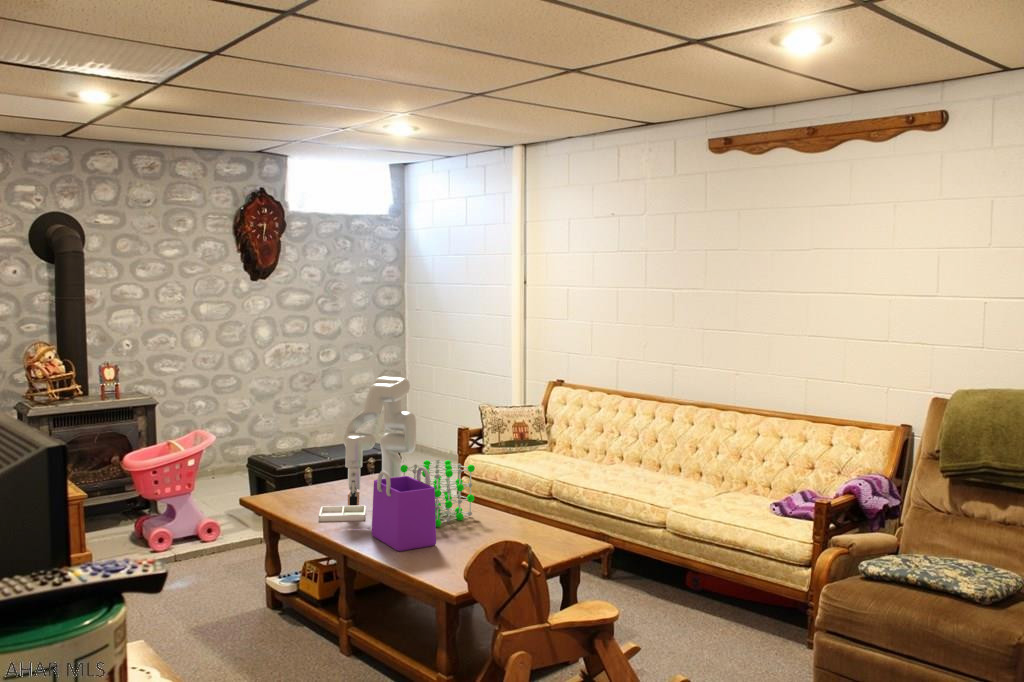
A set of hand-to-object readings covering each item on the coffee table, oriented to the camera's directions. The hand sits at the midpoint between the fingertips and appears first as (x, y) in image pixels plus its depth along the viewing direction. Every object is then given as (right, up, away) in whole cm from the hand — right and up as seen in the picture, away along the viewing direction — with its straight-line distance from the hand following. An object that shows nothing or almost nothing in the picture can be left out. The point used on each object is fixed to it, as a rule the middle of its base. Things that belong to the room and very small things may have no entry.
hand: (353, 503), depth 387 cm
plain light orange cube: (0, 0, 0) cm, 0 cm away
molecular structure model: (+37, -7, +2) cm, 38 cm away
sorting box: (-5, -6, 0) cm, 8 cm away
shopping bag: (+27, -9, -34) cm, 44 cm away
